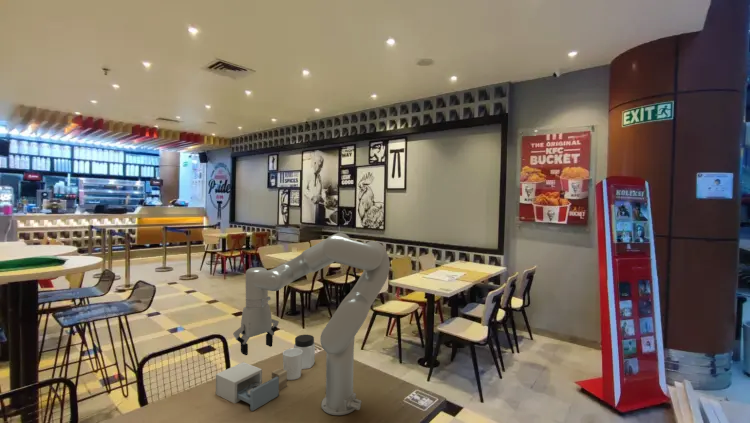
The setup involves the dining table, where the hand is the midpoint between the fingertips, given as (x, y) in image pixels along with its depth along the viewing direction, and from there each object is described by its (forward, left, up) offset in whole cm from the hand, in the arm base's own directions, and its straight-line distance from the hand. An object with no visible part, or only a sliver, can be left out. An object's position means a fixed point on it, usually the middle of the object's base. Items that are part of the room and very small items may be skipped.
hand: (257, 349), depth 127 cm
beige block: (0, -10, -18) cm, 21 cm away
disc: (+1, 0, -16) cm, 16 cm away
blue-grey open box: (+1, 0, -18) cm, 18 cm away
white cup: (+2, -19, -18) cm, 27 cm away
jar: (+5, -29, -18) cm, 35 cm away
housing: (+10, 0, -18) cm, 21 cm away
